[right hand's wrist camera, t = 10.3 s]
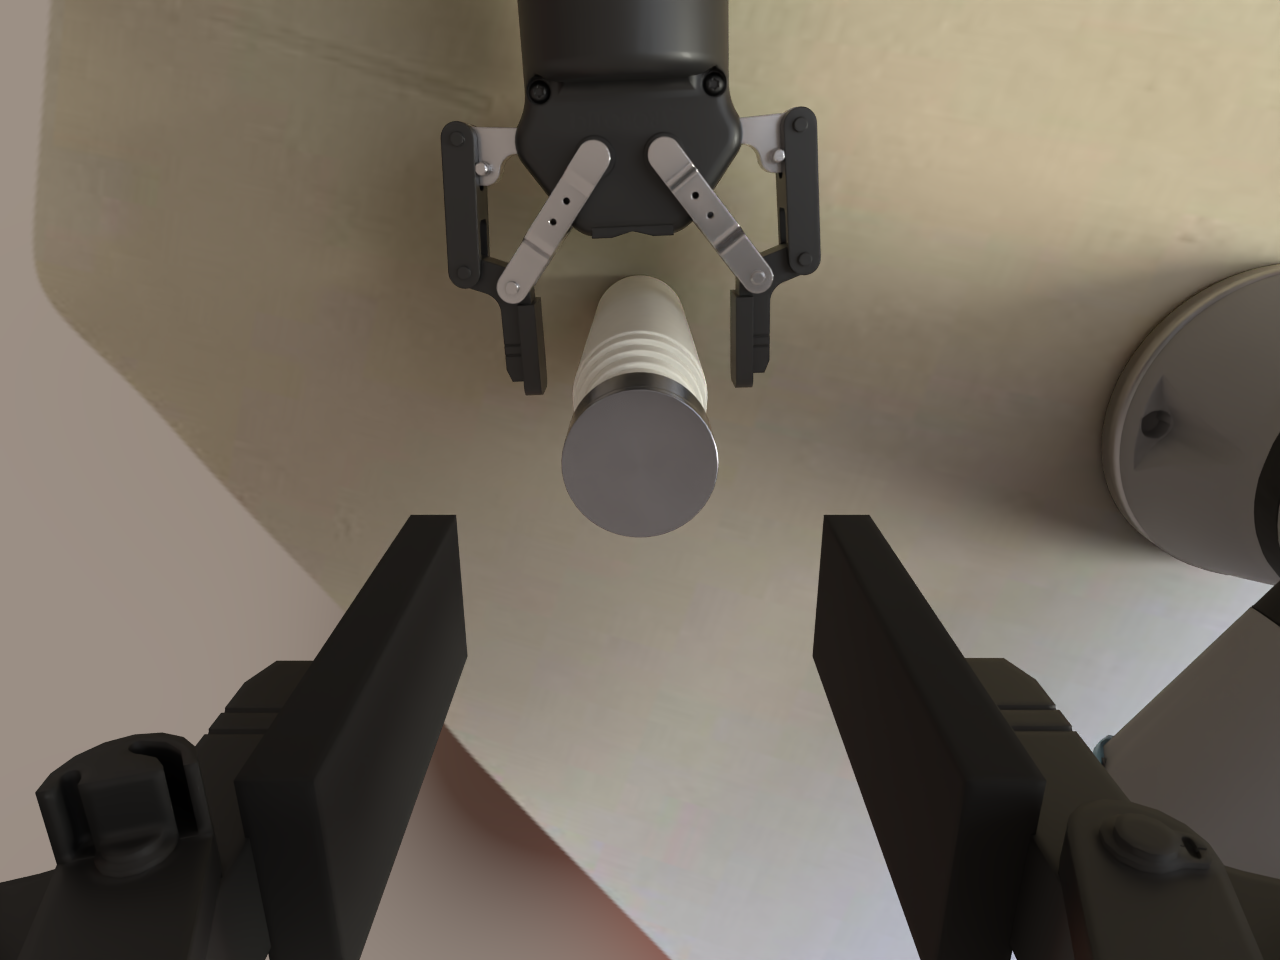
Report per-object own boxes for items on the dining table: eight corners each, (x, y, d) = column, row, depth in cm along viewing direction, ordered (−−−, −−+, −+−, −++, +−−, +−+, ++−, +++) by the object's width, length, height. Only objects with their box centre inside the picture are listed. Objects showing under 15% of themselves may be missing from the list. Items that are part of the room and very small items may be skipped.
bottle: (668, 262, 39) (695, 351, 20) (696, 347, 41) (748, 509, 21) (582, 292, 40) (527, 409, 20) (613, 376, 41) (589, 560, 22)
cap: (685, 350, 21) (689, 367, 20) (730, 484, 23) (738, 510, 21) (546, 399, 22) (538, 419, 20) (597, 527, 23) (593, 556, 21)
